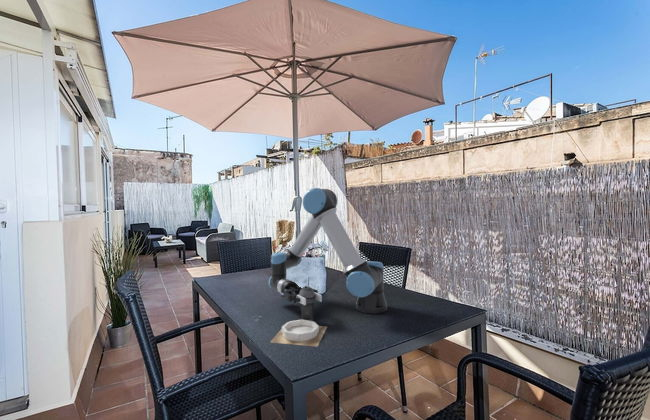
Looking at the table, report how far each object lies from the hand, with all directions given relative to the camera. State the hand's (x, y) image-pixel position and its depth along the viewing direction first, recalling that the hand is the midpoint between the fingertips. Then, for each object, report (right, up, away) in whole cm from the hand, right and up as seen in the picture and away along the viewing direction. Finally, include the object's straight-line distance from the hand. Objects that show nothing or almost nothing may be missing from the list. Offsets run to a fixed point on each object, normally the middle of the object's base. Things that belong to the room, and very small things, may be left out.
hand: (313, 300), depth 130 cm
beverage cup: (-3, -11, +4) cm, 12 cm away
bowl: (-5, -11, -9) cm, 15 cm away
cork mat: (-5, -11, -9) cm, 15 cm away
